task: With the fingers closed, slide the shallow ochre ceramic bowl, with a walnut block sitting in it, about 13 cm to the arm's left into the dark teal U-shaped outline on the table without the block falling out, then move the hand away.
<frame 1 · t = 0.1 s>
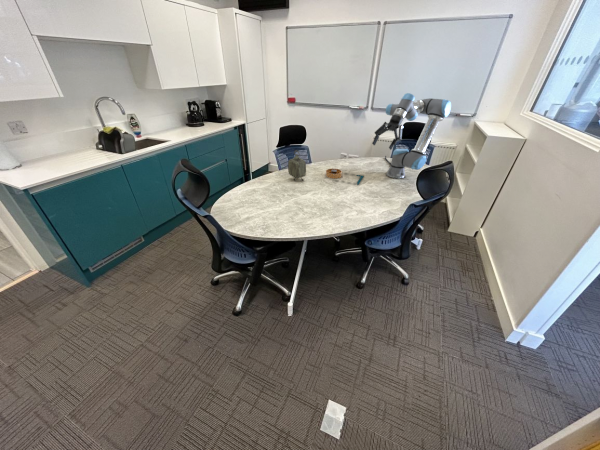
hand: (381, 146, 166), 36 cm above the table, tool tilted 35°, fingers open, 13 cm apart
bowl: (333, 176, 217), on the table, touching walnut block
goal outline: (347, 178, 213), on the table
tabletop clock: (296, 180, 210), on the table
walnut block: (333, 175, 217), point 1 cm above the table, touching bowl
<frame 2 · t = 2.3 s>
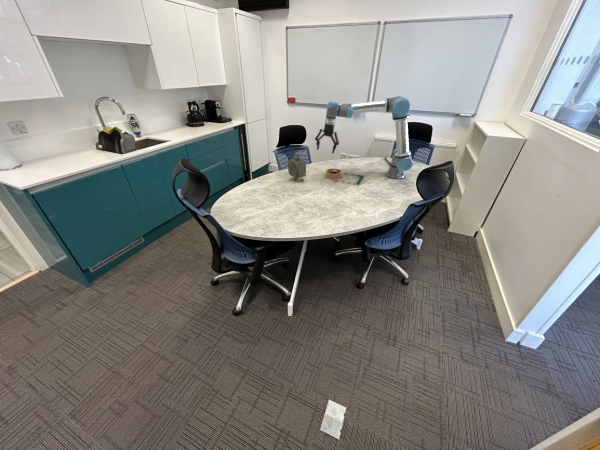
hand: (325, 151, 200), 23 cm above the table, tool pointing down, fingers open, 13 cm apart
nothing on the table moved.
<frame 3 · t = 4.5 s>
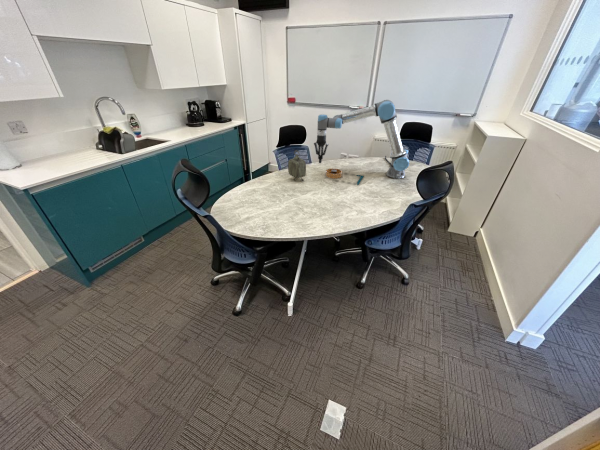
hand: (320, 162, 216), 10 cm above the table, tool pointing down, fingers closed
nothing on the table moved.
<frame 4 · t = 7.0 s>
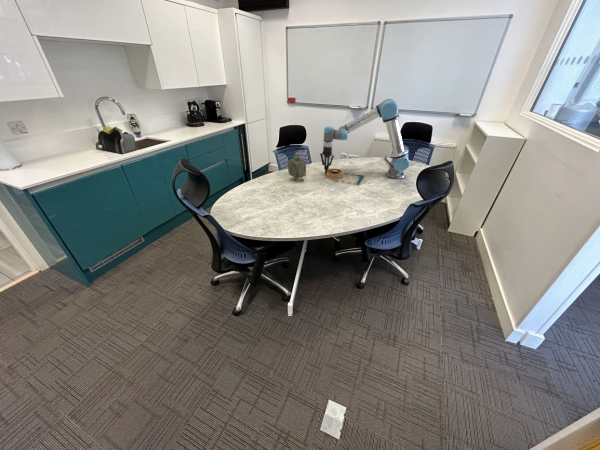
hand: (326, 172, 219), 2 cm above the table, tool pointing down, fingers closed
bowl: (334, 176, 217), on the table, touching gripper, walnut block
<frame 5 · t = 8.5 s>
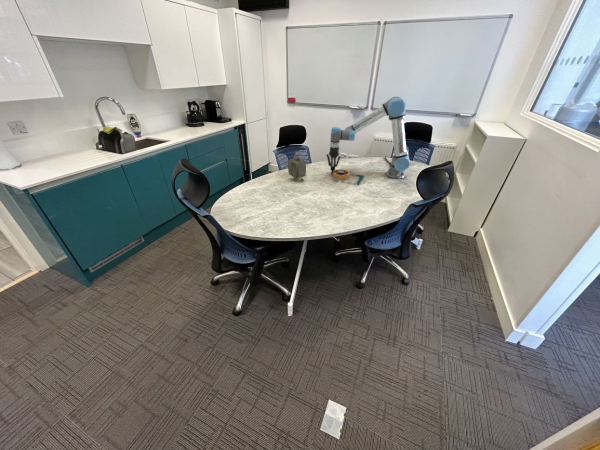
hand: (332, 173, 217), 2 cm above the table, tool pointing down, fingers closed
bowl: (340, 177, 215), on the table, touching gripper, walnut block
walnut block: (340, 176, 215), point 1 cm above the table, touching bowl
everything else where it was.
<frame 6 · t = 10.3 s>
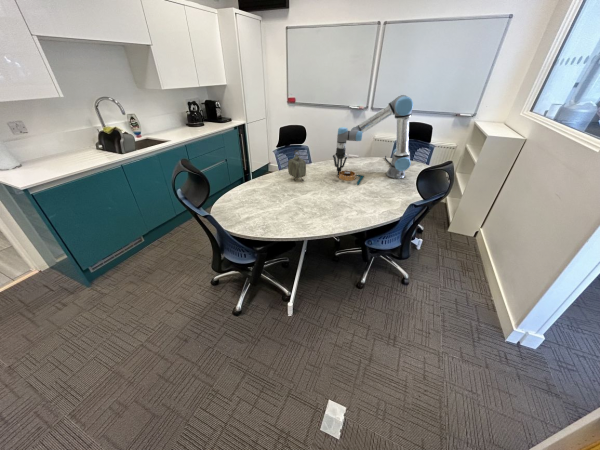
hand: (338, 174, 215), 2 cm above the table, tool pointing down, fingers closed
bowl: (346, 178, 213), on the table, touching gripper, walnut block
walnut block: (346, 177, 213), point 1 cm above the table, touching bowl
everything else where it was.
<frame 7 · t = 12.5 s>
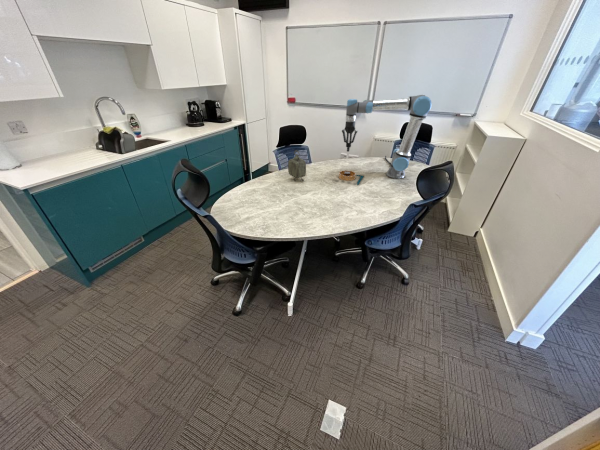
hand: (348, 151, 206), 22 cm above the table, tool pointing down, fingers closed
bowl: (346, 178, 213), on the table, touching walnut block
everything else where it was.
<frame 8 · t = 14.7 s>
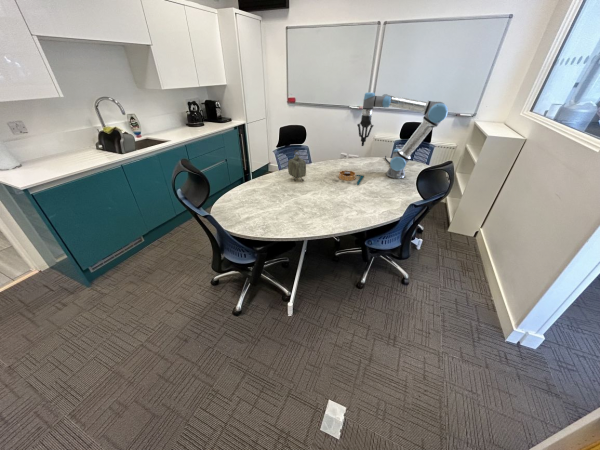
hand: (362, 145, 204), 26 cm above the table, tool pointing down, fingers closed
nothing on the table moved.
at the end: bowl inside the target area (0.9 cm from its centre), on the table; walnut block 0.2 cm from the bowl (horizontally); bowl tilted 0° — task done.
